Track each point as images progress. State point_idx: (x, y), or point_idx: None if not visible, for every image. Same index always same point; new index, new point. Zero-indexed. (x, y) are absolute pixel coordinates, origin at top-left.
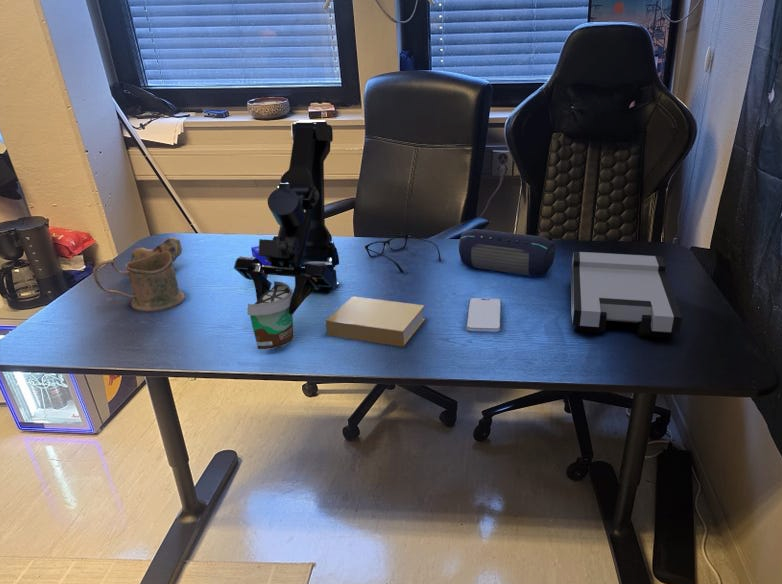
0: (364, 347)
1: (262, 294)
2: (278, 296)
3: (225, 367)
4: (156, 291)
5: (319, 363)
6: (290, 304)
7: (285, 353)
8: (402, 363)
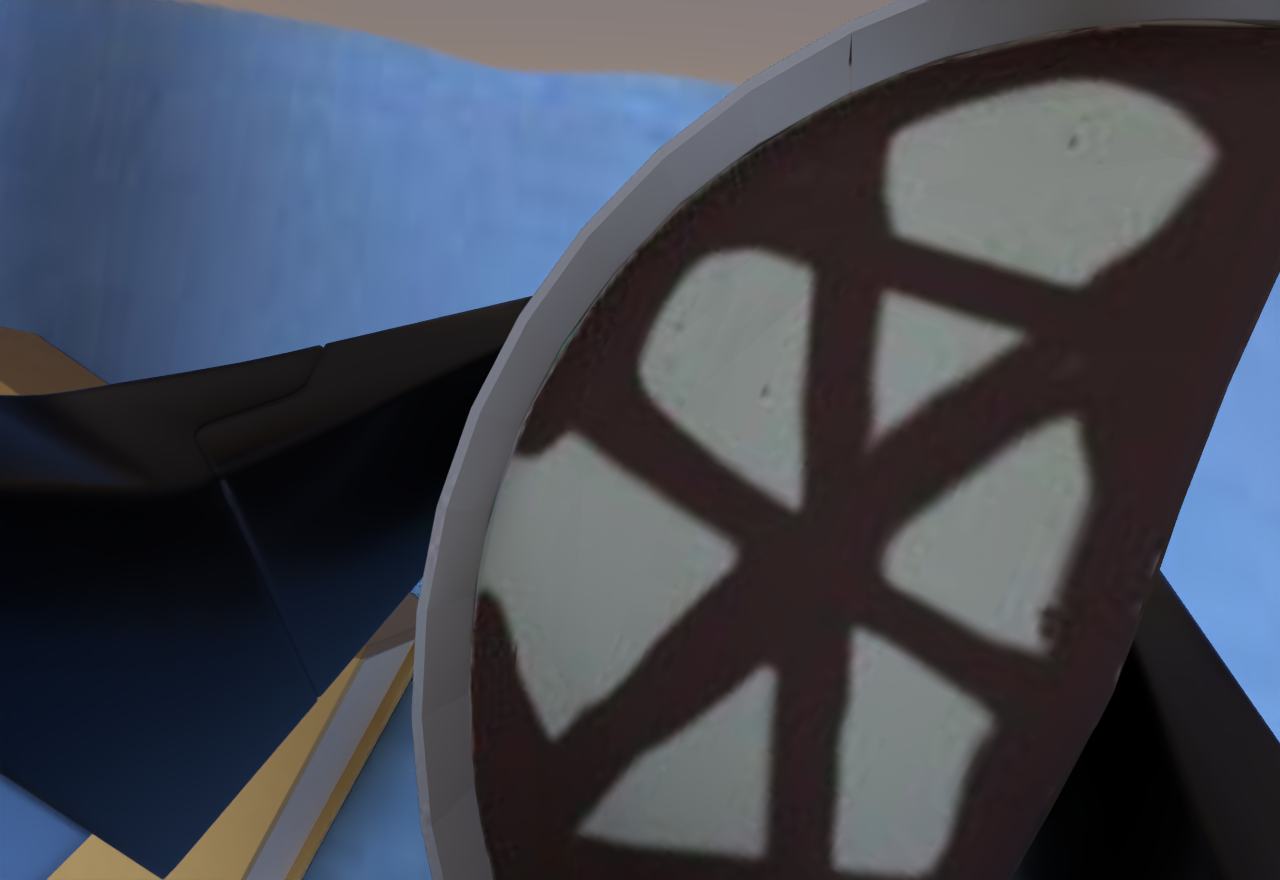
0: None
1: (1109, 775)
2: (713, 573)
3: None
4: None
5: (520, 191)
6: None
7: None
8: (76, 134)
